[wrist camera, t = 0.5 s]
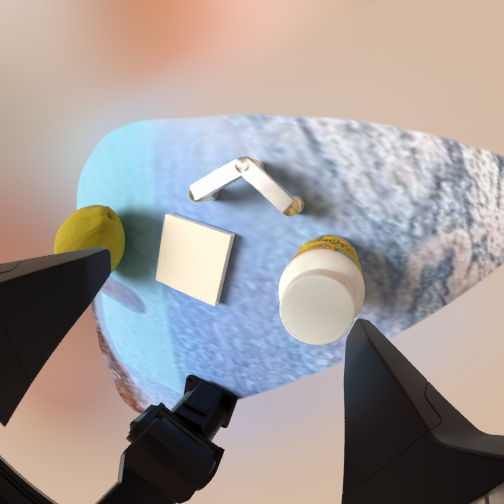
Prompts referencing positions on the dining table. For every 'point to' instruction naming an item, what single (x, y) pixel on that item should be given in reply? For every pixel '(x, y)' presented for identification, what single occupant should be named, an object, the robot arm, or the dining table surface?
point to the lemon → (92, 232)
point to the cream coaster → (194, 257)
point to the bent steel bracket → (254, 175)
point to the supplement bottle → (321, 290)
